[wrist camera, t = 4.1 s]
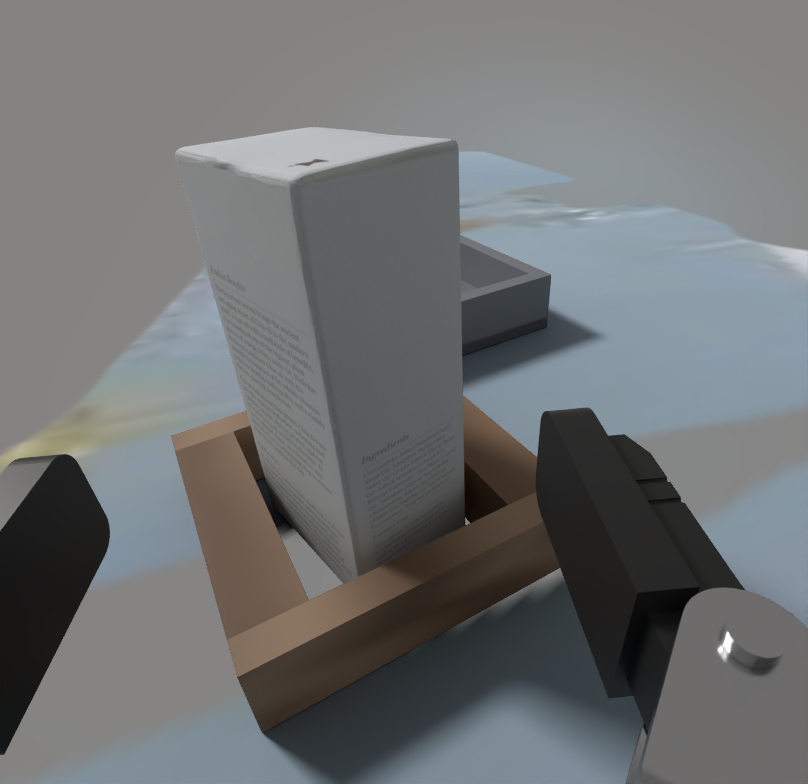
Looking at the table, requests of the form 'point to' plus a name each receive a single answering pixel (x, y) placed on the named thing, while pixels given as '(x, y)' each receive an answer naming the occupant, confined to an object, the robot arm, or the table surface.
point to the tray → (499, 296)
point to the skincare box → (342, 328)
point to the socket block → (365, 595)
